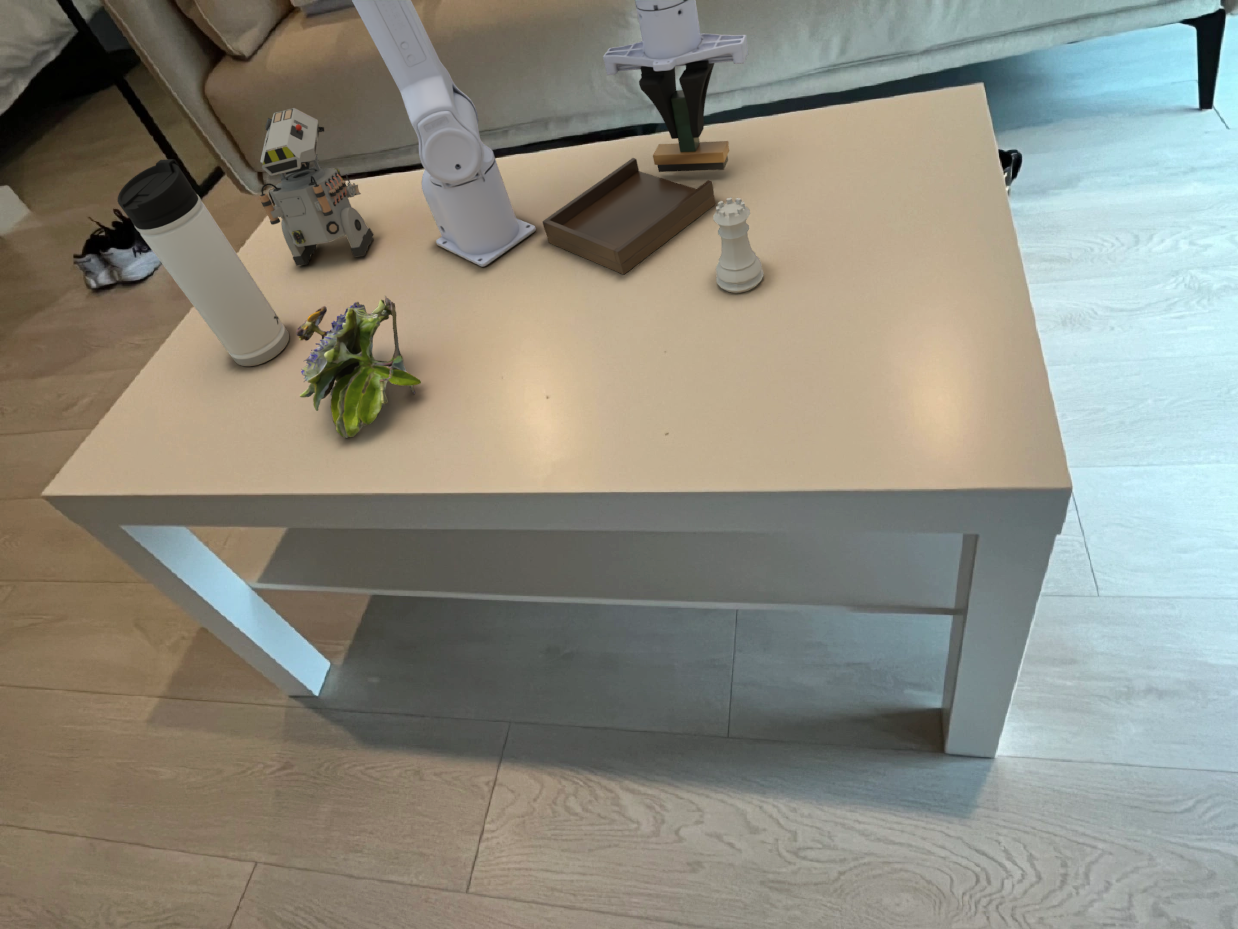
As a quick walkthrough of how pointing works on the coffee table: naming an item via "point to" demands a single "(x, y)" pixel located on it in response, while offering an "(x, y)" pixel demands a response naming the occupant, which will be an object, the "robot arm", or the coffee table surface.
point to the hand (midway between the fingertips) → (687, 133)
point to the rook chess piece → (736, 249)
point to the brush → (689, 146)
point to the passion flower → (352, 366)
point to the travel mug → (203, 262)
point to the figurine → (308, 190)
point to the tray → (626, 217)
